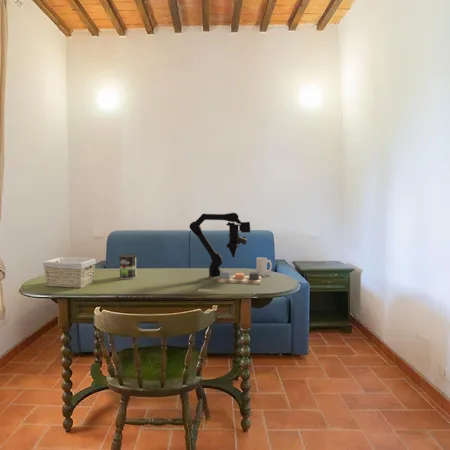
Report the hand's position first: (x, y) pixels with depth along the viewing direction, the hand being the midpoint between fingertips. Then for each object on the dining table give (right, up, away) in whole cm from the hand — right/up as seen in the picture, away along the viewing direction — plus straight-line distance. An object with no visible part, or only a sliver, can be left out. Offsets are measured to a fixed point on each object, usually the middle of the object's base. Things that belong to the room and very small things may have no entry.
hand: (233, 257), depth 205 cm
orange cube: (+3, -14, -13) cm, 19 cm away
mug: (+19, -13, +3) cm, 24 cm away
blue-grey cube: (-5, -12, -11) cm, 18 cm away
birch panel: (+3, -14, -13) cm, 19 cm away
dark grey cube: (+12, -13, -14) cm, 22 cm away
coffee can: (-67, -13, +1) cm, 68 cm away
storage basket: (-95, -15, -16) cm, 98 cm away
